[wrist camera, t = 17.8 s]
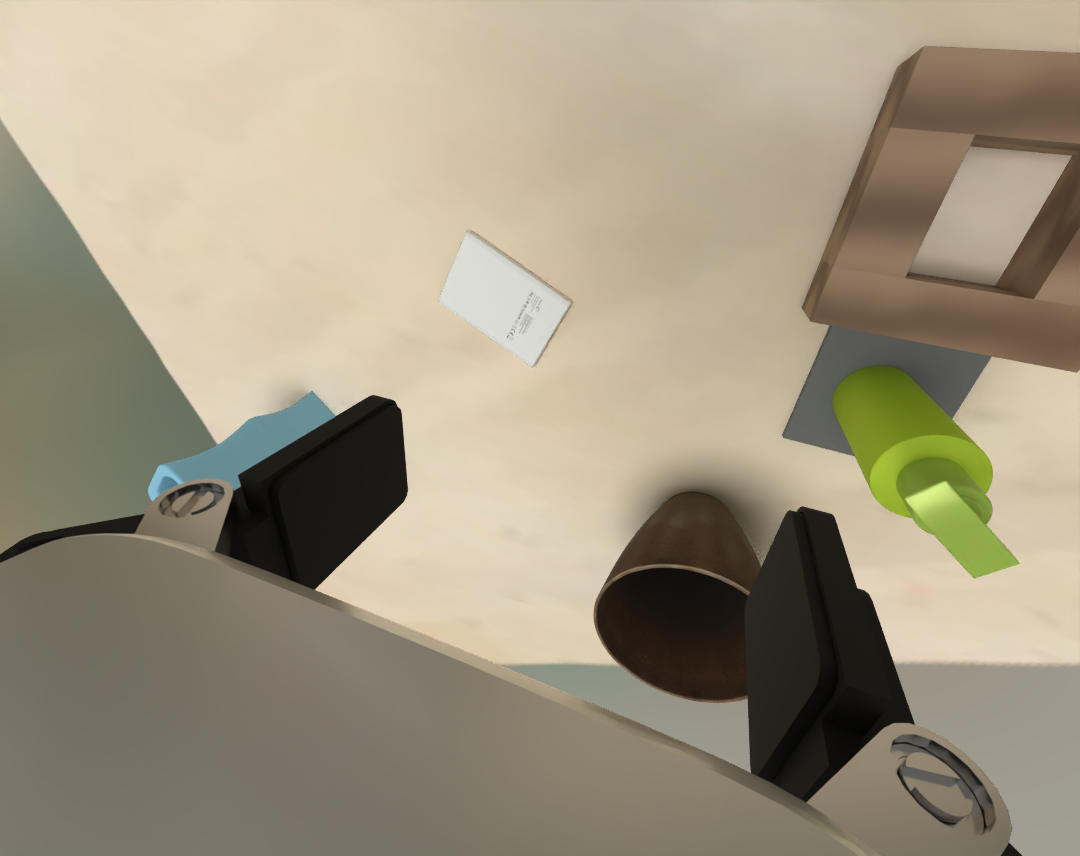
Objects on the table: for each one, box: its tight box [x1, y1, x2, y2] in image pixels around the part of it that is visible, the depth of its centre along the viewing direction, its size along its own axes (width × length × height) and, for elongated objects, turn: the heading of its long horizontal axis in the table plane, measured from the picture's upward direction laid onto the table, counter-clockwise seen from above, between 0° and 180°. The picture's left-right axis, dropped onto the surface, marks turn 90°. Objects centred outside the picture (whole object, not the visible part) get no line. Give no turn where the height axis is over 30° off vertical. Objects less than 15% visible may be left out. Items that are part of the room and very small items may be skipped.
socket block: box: [802, 46, 1080, 372], centre depth 30 cm, size 16×16×5 cm
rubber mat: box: [783, 325, 992, 456], centre depth 38 cm, size 11×11×1 cm
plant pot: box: [594, 492, 761, 703], centre depth 43 cm, size 15×15×16 cm
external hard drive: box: [438, 231, 573, 368], centre depth 47 cm, size 2×8×12 cm
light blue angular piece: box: [148, 391, 336, 501], centre depth 57 cm, size 8×8×20 cm
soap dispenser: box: [832, 366, 1020, 578], centre depth 30 cm, size 6×7×20 cm
